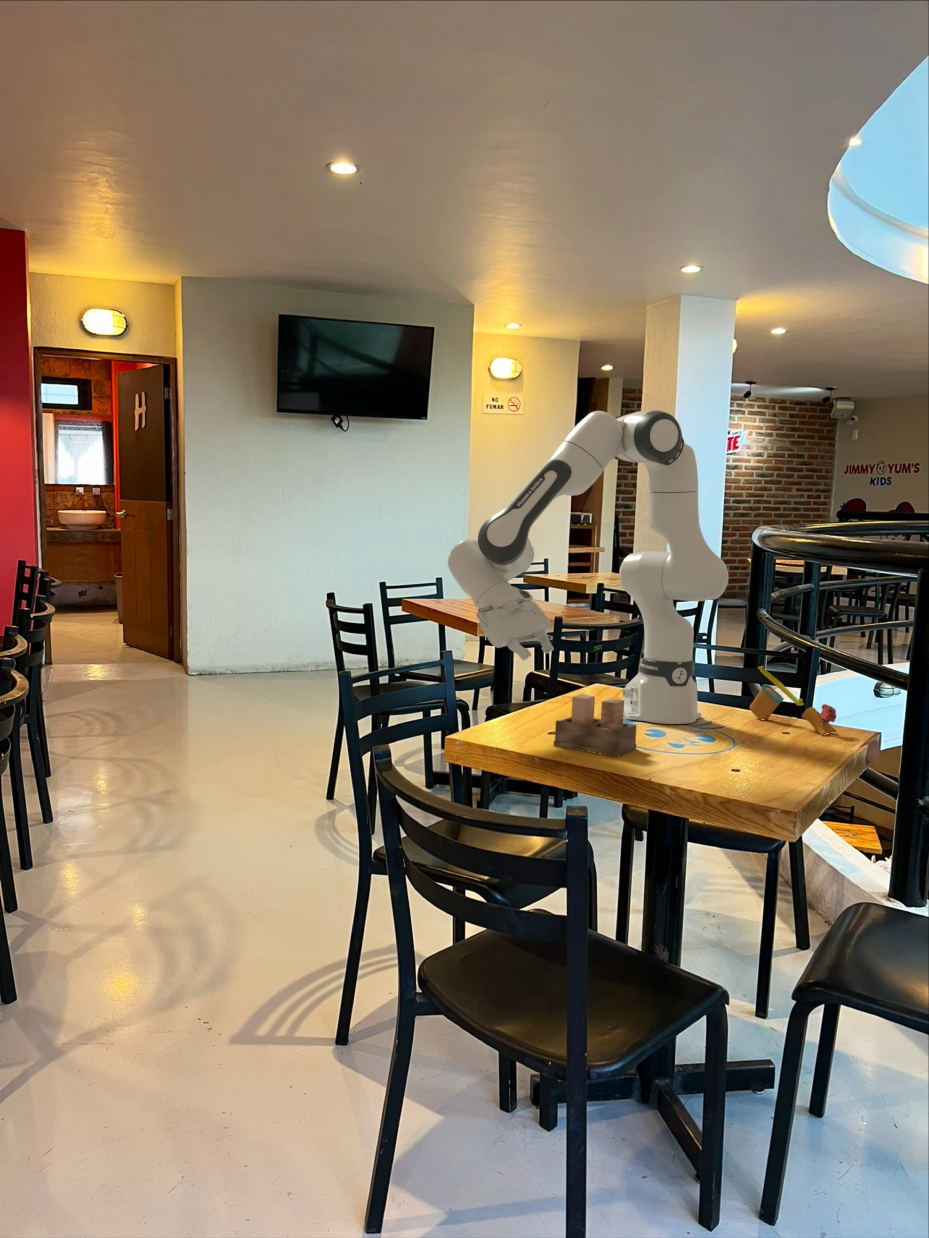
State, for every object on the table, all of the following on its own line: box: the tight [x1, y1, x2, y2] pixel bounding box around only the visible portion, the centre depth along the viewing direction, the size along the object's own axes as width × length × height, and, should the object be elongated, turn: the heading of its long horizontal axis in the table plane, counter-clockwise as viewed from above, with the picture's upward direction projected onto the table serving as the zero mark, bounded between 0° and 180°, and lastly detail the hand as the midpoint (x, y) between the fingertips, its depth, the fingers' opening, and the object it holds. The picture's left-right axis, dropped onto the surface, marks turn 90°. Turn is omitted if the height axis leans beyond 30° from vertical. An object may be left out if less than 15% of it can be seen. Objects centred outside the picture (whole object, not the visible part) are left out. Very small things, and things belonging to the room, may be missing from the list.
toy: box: [749, 665, 837, 735], centre depth 209 cm, size 5×22×15 cm
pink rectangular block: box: [571, 693, 596, 725], centre depth 184 cm, size 3×4×9 cm
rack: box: [553, 698, 637, 758], centre depth 183 cm, size 14×9×10 cm, turn 56°
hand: (539, 654), depth 190 cm, fingers open, 8 cm apart
